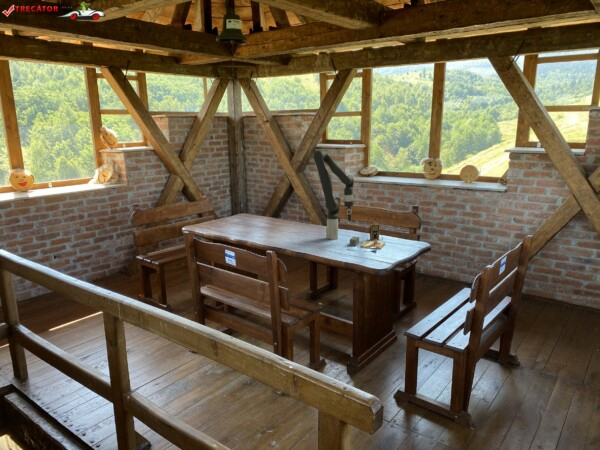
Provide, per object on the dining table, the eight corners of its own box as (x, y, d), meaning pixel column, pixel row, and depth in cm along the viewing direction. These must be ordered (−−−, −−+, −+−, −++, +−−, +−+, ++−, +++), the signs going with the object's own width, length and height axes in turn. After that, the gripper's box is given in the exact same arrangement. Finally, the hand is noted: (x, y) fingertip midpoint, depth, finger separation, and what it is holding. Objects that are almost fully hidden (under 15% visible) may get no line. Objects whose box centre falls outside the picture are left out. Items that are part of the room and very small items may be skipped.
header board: (360, 247, 346) (360, 241, 345) (365, 243, 360) (365, 236, 359) (380, 249, 340) (380, 242, 339) (385, 244, 354) (385, 238, 353)
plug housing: (349, 245, 352) (349, 239, 351) (353, 242, 361) (353, 236, 360) (355, 246, 350) (355, 240, 349) (359, 243, 360) (359, 237, 359)
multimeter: (369, 242, 362) (370, 218, 358) (365, 239, 371) (366, 216, 367) (386, 241, 364) (387, 217, 360) (382, 238, 374) (382, 215, 370)
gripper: (344, 199, 368) (345, 218, 371) (343, 201, 354) (344, 221, 358) (353, 198, 367) (354, 218, 370) (353, 201, 353) (354, 221, 357)
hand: (349, 219), depth 364 cm, fingers open, 8 cm apart
